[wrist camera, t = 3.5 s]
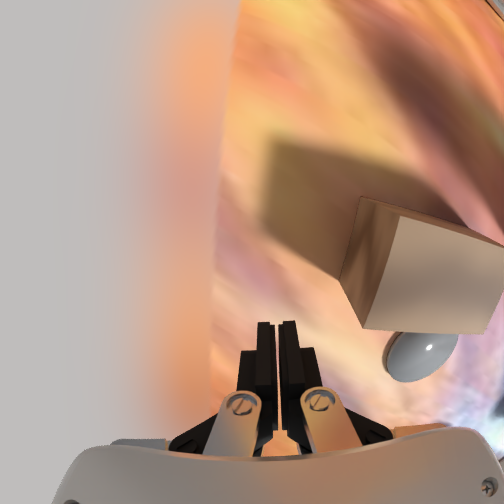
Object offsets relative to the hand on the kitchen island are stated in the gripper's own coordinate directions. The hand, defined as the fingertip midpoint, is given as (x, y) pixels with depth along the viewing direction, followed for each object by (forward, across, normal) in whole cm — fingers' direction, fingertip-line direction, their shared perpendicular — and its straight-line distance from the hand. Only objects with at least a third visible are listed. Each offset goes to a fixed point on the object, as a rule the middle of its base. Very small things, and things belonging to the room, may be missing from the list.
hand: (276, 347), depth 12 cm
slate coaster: (+10, -16, +10) cm, 22 cm away
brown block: (+10, -12, -1) cm, 16 cm away
